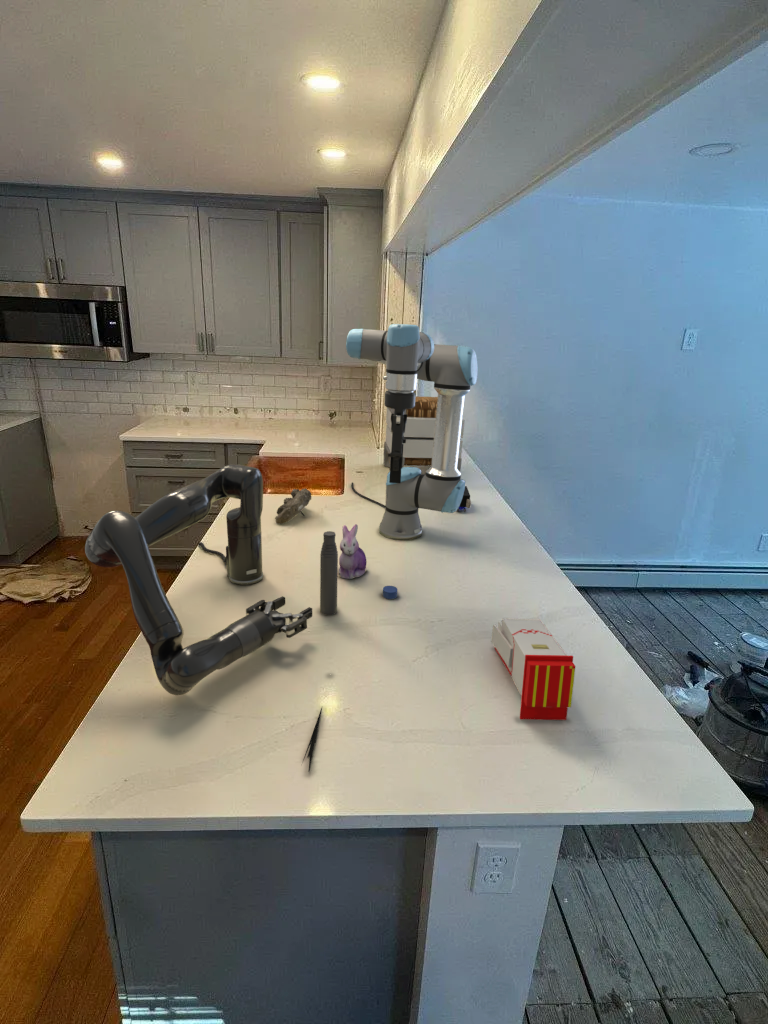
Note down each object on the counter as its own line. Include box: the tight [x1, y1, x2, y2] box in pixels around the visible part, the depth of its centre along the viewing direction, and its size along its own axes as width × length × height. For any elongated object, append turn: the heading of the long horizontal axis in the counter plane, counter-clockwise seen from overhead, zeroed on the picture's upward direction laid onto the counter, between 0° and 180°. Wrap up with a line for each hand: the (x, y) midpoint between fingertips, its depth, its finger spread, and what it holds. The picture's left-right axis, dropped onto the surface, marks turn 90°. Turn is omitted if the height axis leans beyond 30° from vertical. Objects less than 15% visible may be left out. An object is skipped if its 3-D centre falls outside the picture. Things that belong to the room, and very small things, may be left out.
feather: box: [301, 673, 332, 771], centre depth 108 cm, size 2×28×2 cm
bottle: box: [319, 530, 339, 616], centre depth 144 cm, size 4×4×22 cm
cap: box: [382, 585, 399, 600], centre depth 156 cm, size 4×4×2 cm
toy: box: [490, 617, 576, 721], centre depth 122 cm, size 12×13×30 cm
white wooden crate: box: [383, 395, 465, 474], centre depth 268 cm, size 34×33×41 cm
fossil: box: [274, 488, 312, 525], centre depth 211 cm, size 22×10×15 cm
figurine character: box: [456, 485, 472, 513], centre depth 228 cm, size 7×8×15 cm
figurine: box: [338, 523, 368, 580], centre depth 166 cm, size 9×10×15 cm
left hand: (297, 605), depth 136 cm, fingers open, 8 cm apart
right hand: (396, 475), depth 145 cm, fingers open, 13 cm apart
